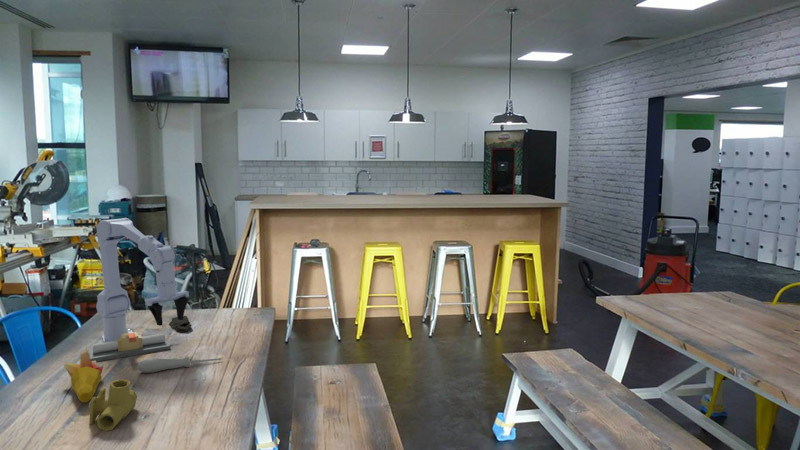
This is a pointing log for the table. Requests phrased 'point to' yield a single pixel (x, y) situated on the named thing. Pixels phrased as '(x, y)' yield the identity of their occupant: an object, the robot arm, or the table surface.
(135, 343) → the valve stand
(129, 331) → the valve lever
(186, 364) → the screwdriver
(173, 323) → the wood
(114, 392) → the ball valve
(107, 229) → the robot arm
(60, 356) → the table surface
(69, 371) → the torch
